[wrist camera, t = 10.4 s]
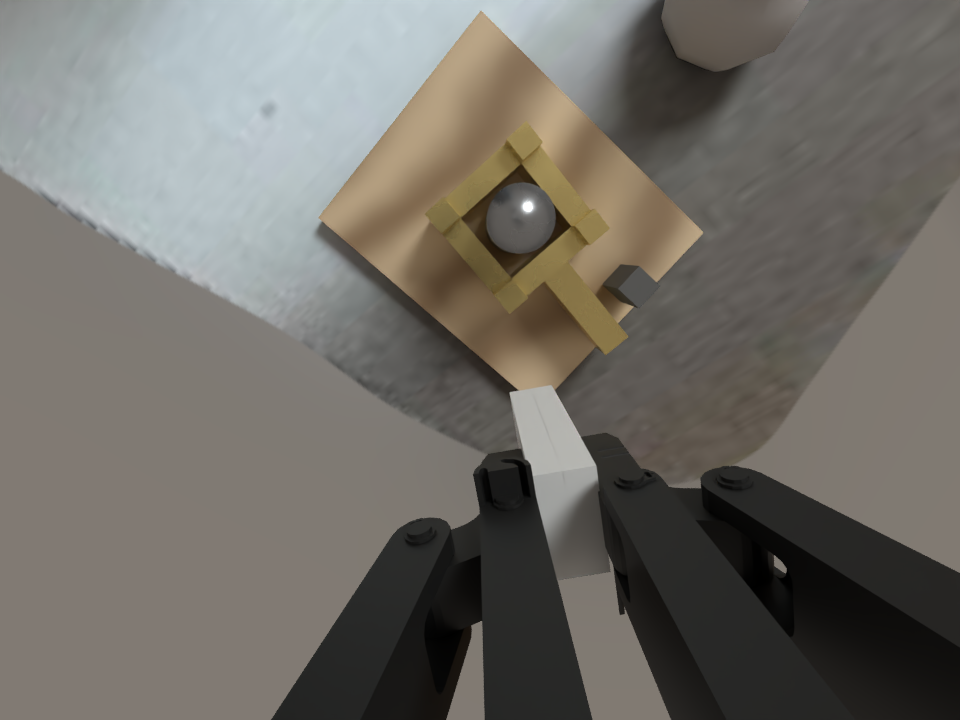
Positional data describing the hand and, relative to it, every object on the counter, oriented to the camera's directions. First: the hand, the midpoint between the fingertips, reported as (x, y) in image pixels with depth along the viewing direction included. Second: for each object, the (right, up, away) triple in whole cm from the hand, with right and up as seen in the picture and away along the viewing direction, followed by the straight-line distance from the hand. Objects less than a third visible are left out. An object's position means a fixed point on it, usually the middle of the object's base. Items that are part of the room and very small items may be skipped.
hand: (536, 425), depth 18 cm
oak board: (0, +12, +20) cm, 24 cm away
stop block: (+9, +8, +20) cm, 23 cm away
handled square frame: (+3, +10, +19) cm, 22 cm away
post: (0, +12, +20) cm, 24 cm away
